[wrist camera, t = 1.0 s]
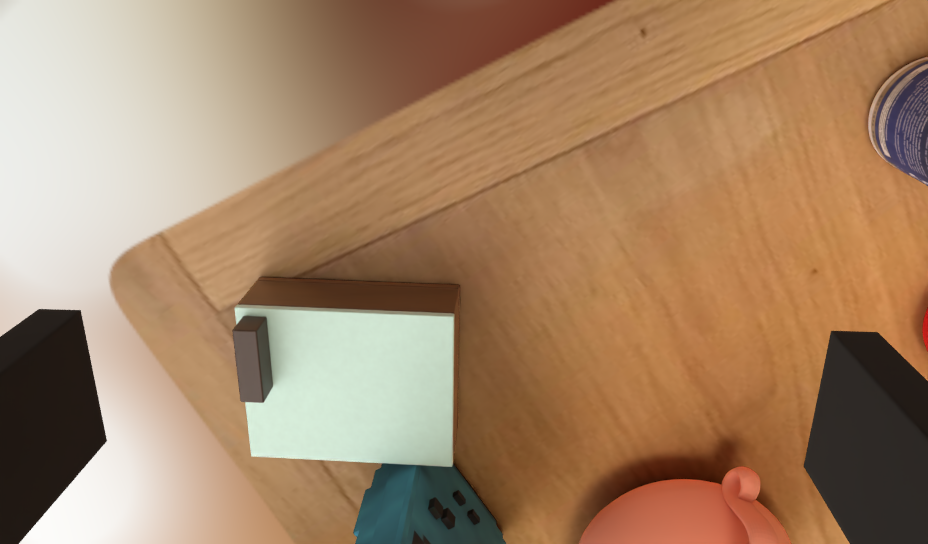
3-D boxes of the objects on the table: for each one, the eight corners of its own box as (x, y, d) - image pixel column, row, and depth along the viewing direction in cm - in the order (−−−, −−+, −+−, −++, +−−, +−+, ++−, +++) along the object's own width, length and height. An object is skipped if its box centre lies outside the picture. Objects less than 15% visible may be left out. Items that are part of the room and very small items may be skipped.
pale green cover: (237, 304, 37) (222, 321, 36) (454, 313, 37) (451, 331, 35) (253, 452, 41) (240, 475, 39) (453, 462, 40) (449, 486, 38)
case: (259, 276, 41) (237, 303, 37) (459, 284, 40) (454, 313, 37) (272, 415, 44) (253, 451, 41) (457, 425, 43) (453, 462, 40)
